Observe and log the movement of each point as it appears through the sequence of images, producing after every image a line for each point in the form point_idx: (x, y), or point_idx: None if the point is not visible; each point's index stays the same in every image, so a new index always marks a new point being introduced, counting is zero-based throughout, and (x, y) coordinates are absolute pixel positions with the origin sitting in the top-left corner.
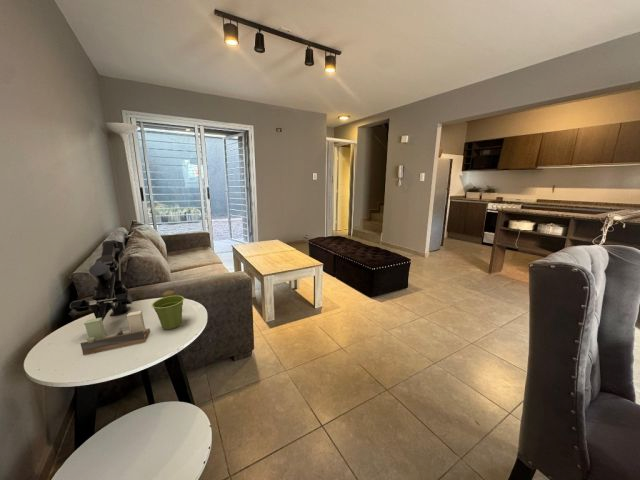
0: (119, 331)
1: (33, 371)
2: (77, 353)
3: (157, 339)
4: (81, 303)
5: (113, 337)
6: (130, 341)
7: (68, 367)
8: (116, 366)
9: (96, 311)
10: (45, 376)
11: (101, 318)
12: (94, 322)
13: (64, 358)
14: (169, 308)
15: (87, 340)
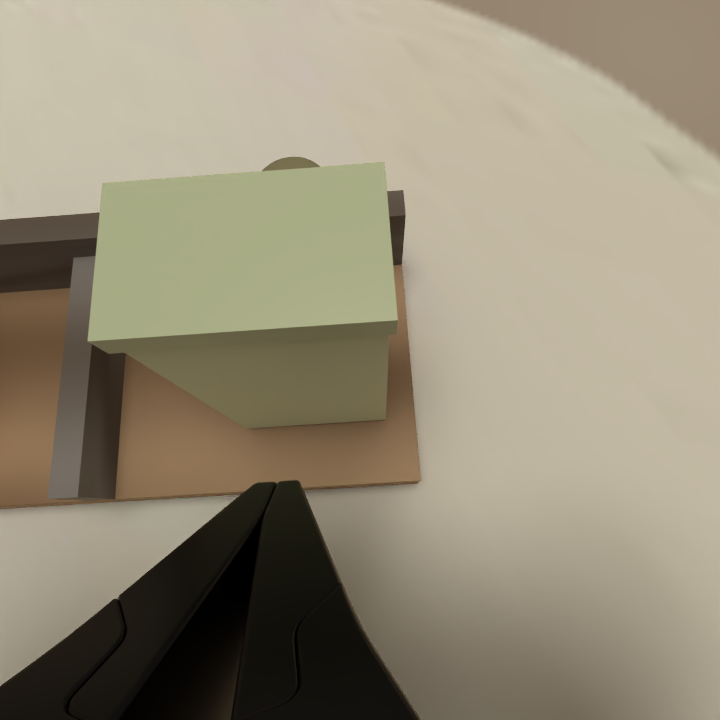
0: (65, 424)
1: (698, 149)
2: (475, 309)
3: None
4: None
5: (63, 217)
6: None
7: (426, 120)
8: (62, 34)
9: (271, 653)
10: (538, 63)
11: (96, 316)
12: (197, 189)
13: (553, 261)
14: None
15: (314, 162)
